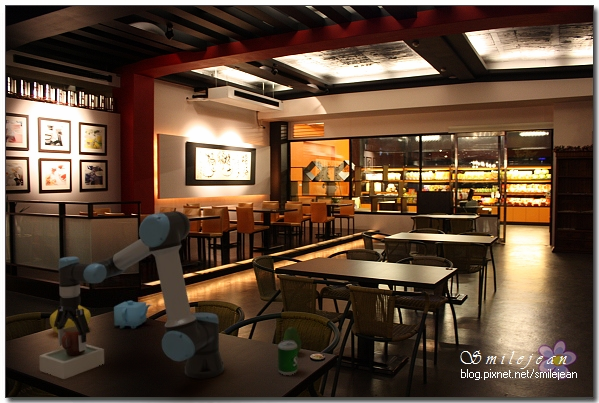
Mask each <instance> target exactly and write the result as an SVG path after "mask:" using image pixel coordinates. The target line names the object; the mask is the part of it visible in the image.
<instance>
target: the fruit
mask: <svg viewBox="0 0 599 403" xmlns="http://www.w3.org/2000/svg"><path fill="white" fill-rule="evenodd" d="M284 340H292V341H294V342H295V343H296V344H297V354H299V352H300V351H301V349H302V341H301V337H300V335H299V332H298V330H297V328H295V327H294V326H289V327H287V329H285V331H284V334H283V340H282V341H284Z"/></svg>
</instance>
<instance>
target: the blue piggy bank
mask: <svg viewBox="0 0 599 403" xmlns="http://www.w3.org/2000/svg"><path fill="white" fill-rule="evenodd" d="M151 306H152V304H147V302H142V301H139V302H138V301H133V300H127V301H123V302H121V303H119V304H117V305H115V306H114V307H113V314H114V315H113V320H114V326H119V329H124V328H125V327H130V329H137V327H138V326H140V325H143V323H145V322H146V321H147V316H148V315H147V314H148V310H149V307H151Z"/></svg>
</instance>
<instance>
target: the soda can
mask: <svg viewBox="0 0 599 403" xmlns="http://www.w3.org/2000/svg"><path fill="white" fill-rule="evenodd" d="M277 353H278V354H277V359H278V360H277V361H278V362H277V366H278V368H277V369H278V372H279V373H280V374H281V375H282V374H283V376H286V375H289V376H293V375H295V374H296V373H297V372H298V353H297V344H296V343H295V342H294V341H292V340H284V341H283V340H281V341H280V342H279V343H278V345H277ZM294 373H295V374H294ZM292 374H293V375H292Z"/></svg>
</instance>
